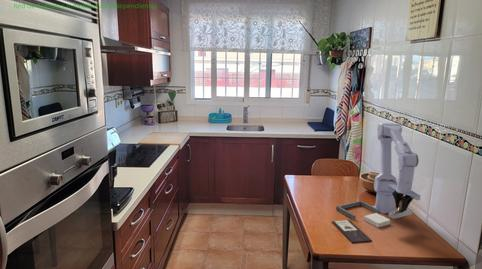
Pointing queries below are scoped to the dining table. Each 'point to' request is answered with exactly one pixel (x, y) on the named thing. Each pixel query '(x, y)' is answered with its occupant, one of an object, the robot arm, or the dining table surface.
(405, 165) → the robot arm
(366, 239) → the chocolate bar
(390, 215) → the scraper
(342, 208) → the bay
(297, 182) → the dining table surface
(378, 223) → the tile
